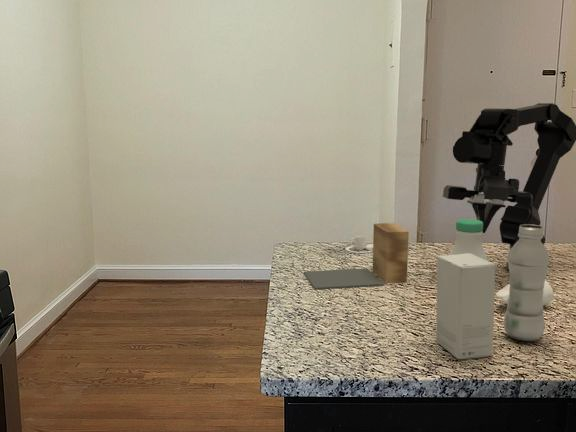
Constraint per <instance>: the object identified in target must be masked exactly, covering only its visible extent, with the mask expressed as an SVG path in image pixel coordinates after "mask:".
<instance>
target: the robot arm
mask: <svg viewBox="0 0 576 432" xmlns="http://www.w3.org/2000/svg"><path fill="white" fill-rule="evenodd" d="M530 124H534V127H533V128H534V131H535V133H536V134H537V135H538V136H537V146H538V148H539V151H538V154H537V156H536V158H535V161H534V164H533V166H532V169H531V170H530V172H529V175H528V178H527V180H526V181H525V182H526V183H525V185H524V188H523V189H522V191H521V190H519V189H520V180H519V179H518V178H509V179H506V170H505V165H506V156H507V149H508V147H509V146H510V147H512V146H513V145H514V143H513V141H512V139H510V138H509V136H508V135H511V134H512V133H515V132H516V131H518V129H519V127H521V126H526V125H530ZM575 143H576V123H575V121H574V119H573V118H572V117H570V116H569V115H567V113H565V112H563V110H562V111H561V109H560V108H559V106H558V105H557V104H555V103H554V102H553V103H550V102H547V103H546V102H543V103H542V102H541V103H537V104H533V105H528V106H523V107H517V108H484V109H482V110H481V111H480V114H479V115H478V117H477V119H475V122H474V123H473V125H472V126H471V128H470V129H469V131H465V130H464V131H462V133H461V136H460V137H459V138H458V139H457V140H456V141H455V143H454V145H453V146H452V155H453V158H454V159H455V160H456V161H457V162H458V163H462V164H473V165H475V164H477V167H476V168H475V173H476V174H475V175H476V176H475V182H474V183H475V185H473V190H472V189H467V187H465V186H460V185H449V184H447V185H445V186H444V188H443V191H442V192H443V193H442V197H443V198H444V199H445V198H446V199H449V200H455V201H456V200H458V201H463V200H465V199H466V198H468V199H467V202H466V203H467V204H470V205H471V206H472V209H473V211H474V215H475V217H476V220H479V221H482V222H483V230H482V232H483V234H486V232H487V230H488V228H489V226H490V224H491V222H492V220H493V219H494V216H495V215H496V213H497V212H498V211H499V210H501V209H502V208H505V210H504V213H503V215H502V217H501V218H500V224H499V232H500V233H499V234H500V239H501V243H502V244H507V245H509V250H510V249H511V248H512V247H513V246H514V244H515V243H516V242H517V241H518V240H519V238H520V237H518V233H519V227H520V225H525V224H530V225H539V226H541V222H542V221H541V218H540V212H539V209H540V207H541V205H542V203H543V200H544V198H545V194H546V192H547V191H548V190H547V189H548V188H549V185H550V184H551V180H552V178H553V176H554V173H555V171H556V169H557V166H558V163H559V162H560V159H561V158H563V157H564V156H565V155H567V154H568V153H569V152H570V151H571V150H572V148H573V146H574V145H575ZM485 200H488V201H485ZM505 202H509V203H516V204H514V205H507V206H506V204H505ZM542 235H543V238H542V239H541V242H542V244H543V245H544V246H545V242H546V238H545V236H544V234H542ZM505 267H506V271H507V272H509V264H508V262H507V263H506V266H505Z"/></svg>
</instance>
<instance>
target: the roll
mask: <svg viewBox="0 0 576 432" xmlns="http://www.w3.org/2000/svg"><path fill="white" fill-rule="evenodd" d="M543 290H544V291H543V307H544V306H548V305H550V304H551V302H552V301H553V300H554V297H555V295H554V290H553V288H552V286H551V284H550V283H549V282H548V281H547V280H545V283H544V288H543ZM509 292H510V283H508V284H507V285H505V286H504V287H503V288H501V289H499V290H498V291H497V292H496V293H495V295H496V296H497V298H499V299H500V301H501V302H503V303H505V304H507V305H508V299H509Z"/></svg>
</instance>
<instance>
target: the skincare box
mask: <svg viewBox="0 0 576 432" xmlns="http://www.w3.org/2000/svg"><path fill="white" fill-rule="evenodd" d="M436 262H437V263H436V265H437V266H436V267H437V268H436V325H435V326H436V332H435V333H436V334H435V335H436V336H435V338H436V339H435V341H436V343H438V344H439V346H441V347H442V348H444V349H445V350H446V351H447V352H449V353H450V354H451V355H452V356H454V358H455V359H458V360H467V359H468V360H469V359H470V360H471V359H478V358H485V357H491V356H493V354H494V353H493V351H494V350H493V349H494V347H493V345H494V323H495V322H494V319H495V318H494V317H495V295H496V293H495V292H496V291H495V290H496V266H497V265H496V263H493V262H491V261H489V260H488V261H487V260H484V259H482V258H480V257H477V256H475V255H473V254H471V253H466V254H456V255H449V254H447V255H438V256H437V260H436Z"/></svg>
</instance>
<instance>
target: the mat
mask: <svg viewBox="0 0 576 432" xmlns="http://www.w3.org/2000/svg"><path fill="white" fill-rule="evenodd" d="M303 274H304V276H305V277H306V279H307V281H308V282H309V283H310V285H311V286H312V288H313V289H314V290H330V289H333V290H334V289H348V288H349V289H350V288H363V287H364V288H365V287H383V286H385V282H383V281H382V280H380V278H379V277H378V276H377V275H376V274H375V273H374V272H373V271H371V270H369V268H367V267H366V268H365V267H364V268H363V267H362V268H348V269H346V268H345V269H343V268H342V269H328V270H327V269H326V270H310V271H309V270H308V271H306V270H305V271H303Z"/></svg>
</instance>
